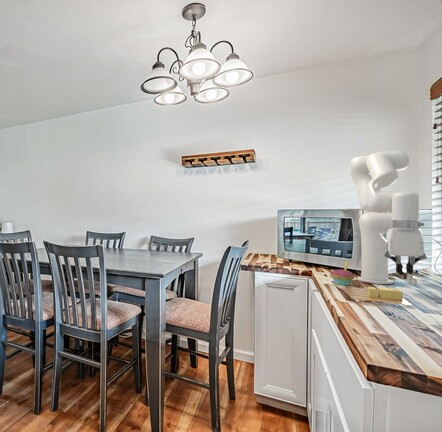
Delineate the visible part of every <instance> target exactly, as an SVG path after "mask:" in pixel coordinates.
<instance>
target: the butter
mask: <svg viewBox="0 0 442 432" xmlns="http://www.w3.org/2000/svg"><path fill="white" fill-rule="evenodd" d="M377 290H378V296H379V297H380V298H385V299H395V300H403V298H404V297H403V296H404V295H403V294H404V292H403V290H401V289H399V288H391V287H390V288H388V287H377Z"/></svg>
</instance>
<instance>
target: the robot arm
mask: <svg viewBox="0 0 442 432" xmlns="http://www.w3.org/2000/svg"><path fill="white" fill-rule="evenodd" d="M409 164H410V157H409V155H408V153H407V152H405V151H403V150H388V151H387V150H386V151H385V150H384V151H376V152H373V153H370V154H365V155H359V156H356V157H353V158H352V159H351V161H350V163H349V172H350V176H351V178H352V181H353V182H354V184H355V187H356V191H357V196H358V200H359V206H360V209H361V210H362V211H363V212H367V213H363V214H361V215H360V216H359V218H358V227H359V232H360V240H361V241H360V244H361V245H360V247H361V252H360V253H361V256H360V257H361V261H360V262H361V271H360V272H361V273H360V274H361V275H360V276H357V277H356V280H357V281H359V282H362V283H368V284H373V285H374V284H375V285H392V284H393V283H394V282H393V280H392V279H389V260H392V261H393V262H394V263H395V272H398V274H399V275H402V271H403V269H404V265H403V264H402V258H401V257H407V262H406V264H405V270H407V271H408V272H410V275H412V274H414V265H415V264H417V263H418V262H419V261H424V260H427V259H428V256H427V254H426V253H425V243H424V236H423V231H422V229H420V227H424V226H425V222H421V221H420V195H419V192H416V191H399V192H398V191H394V190H393V191H392V190H390V191H389V190H388V191H387V190H386V191H383V190H381V189H385V188H387V187H390V186H391V185H393V184H395V183H396V182H397V181H398V180H399V172H400V171H404V170H405V169H408V166H409ZM384 234H385V235H386V239H385V238H384V236H383V235H384ZM399 275H398V276H399Z"/></svg>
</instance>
